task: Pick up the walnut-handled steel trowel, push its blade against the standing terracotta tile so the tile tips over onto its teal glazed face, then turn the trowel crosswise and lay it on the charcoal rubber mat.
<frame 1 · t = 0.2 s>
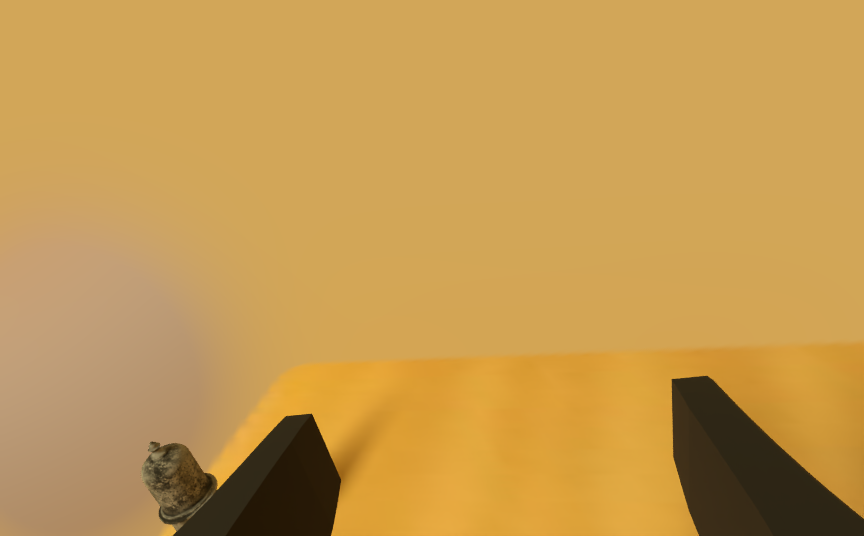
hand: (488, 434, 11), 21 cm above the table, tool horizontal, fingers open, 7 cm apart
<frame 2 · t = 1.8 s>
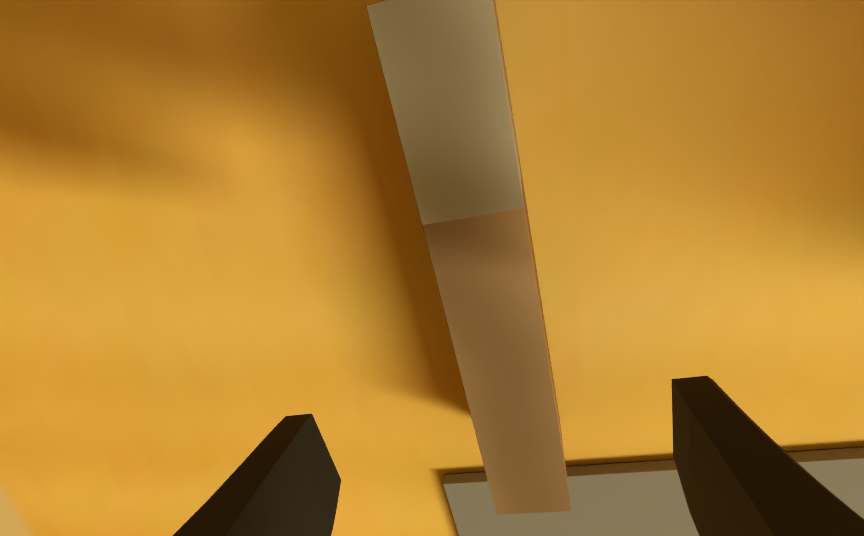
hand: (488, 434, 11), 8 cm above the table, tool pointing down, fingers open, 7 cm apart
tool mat: (713, 529, 23), on the table
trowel: (494, 249, 18), on the table
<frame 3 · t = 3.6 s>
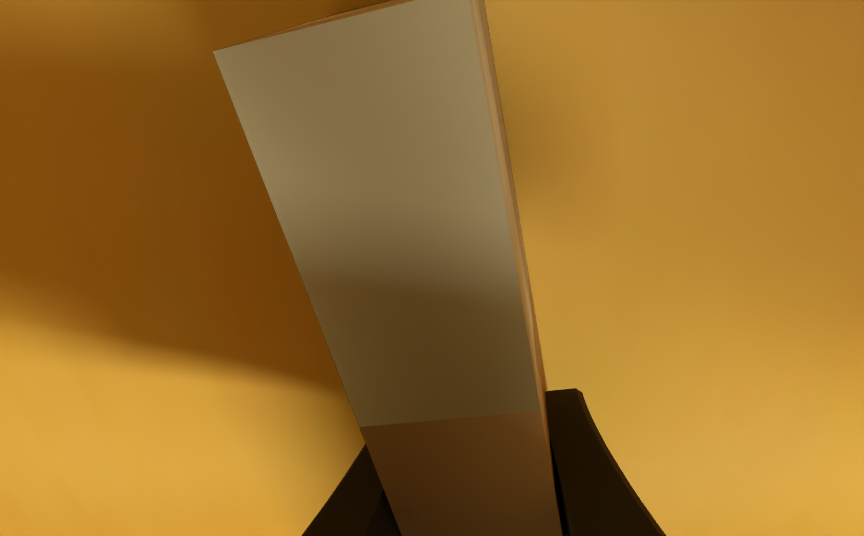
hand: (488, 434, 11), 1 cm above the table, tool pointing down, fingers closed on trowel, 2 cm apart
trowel: (489, 386, 12), on the table, touching gripper
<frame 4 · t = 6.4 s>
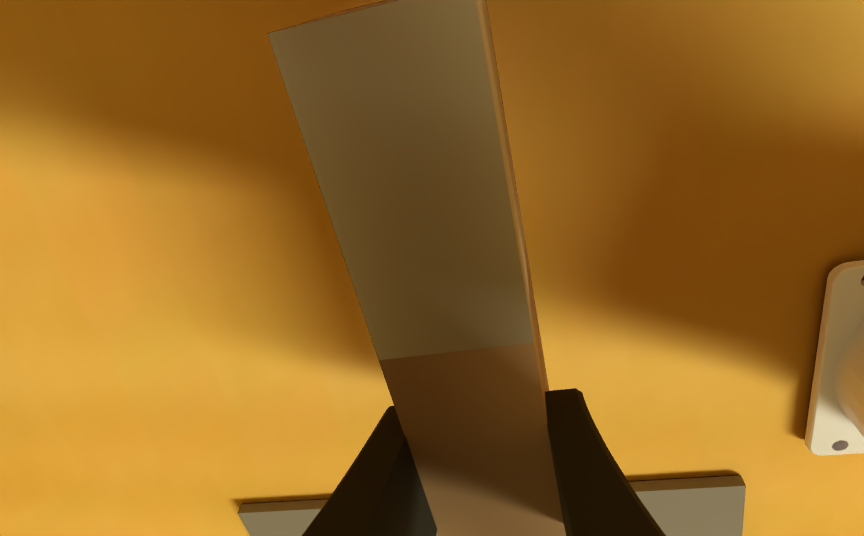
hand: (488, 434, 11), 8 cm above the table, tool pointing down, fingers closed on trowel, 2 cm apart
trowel: (490, 346, 13), point 5 cm above the table, touching gripper
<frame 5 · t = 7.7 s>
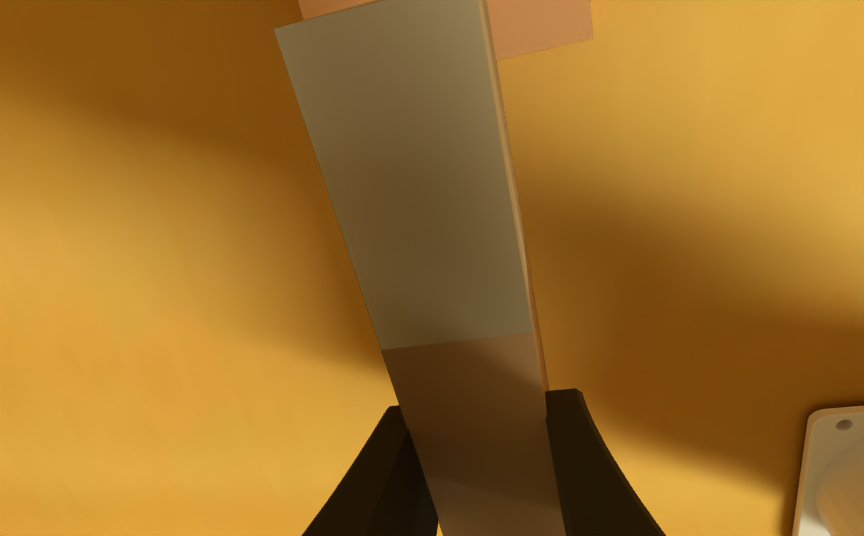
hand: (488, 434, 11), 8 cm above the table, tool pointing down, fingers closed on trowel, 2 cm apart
tile: (455, 65, 15), on the table, tilted 90°
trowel: (489, 339, 14), point 5 cm above the table, touching gripper
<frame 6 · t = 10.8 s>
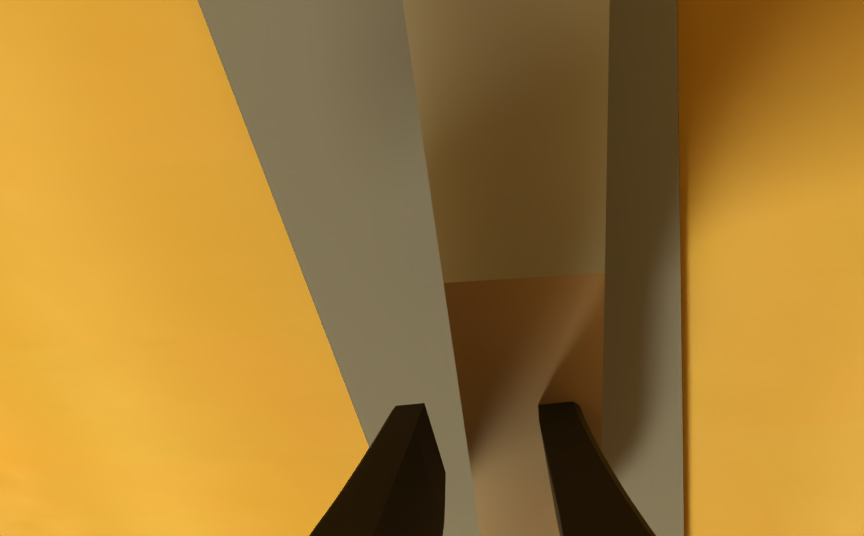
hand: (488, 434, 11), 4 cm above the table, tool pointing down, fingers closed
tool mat: (495, 322, 14), on the table
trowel: (523, 301, 13), resting on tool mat, touching gripper
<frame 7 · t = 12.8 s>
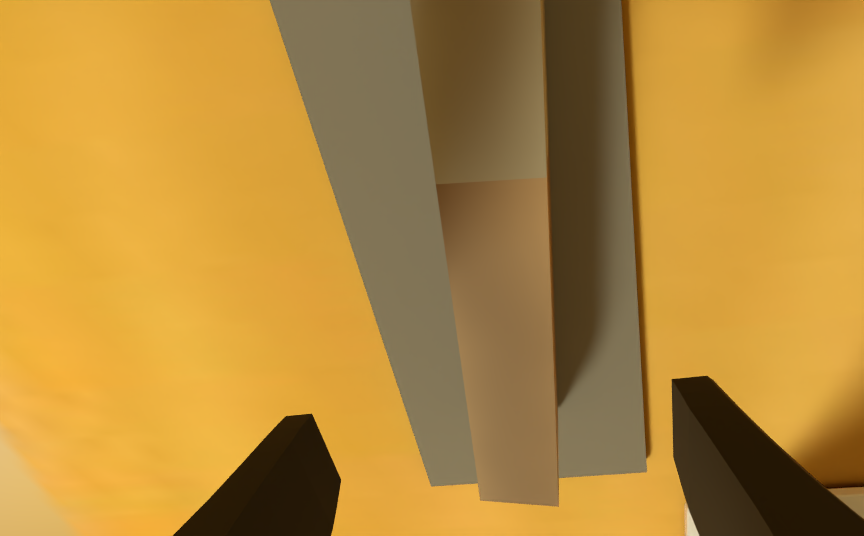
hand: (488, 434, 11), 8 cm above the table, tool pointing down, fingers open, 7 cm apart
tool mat: (490, 244, 18), on the table
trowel: (510, 225, 17), point 1 cm above the table, tilted 5°, touching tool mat
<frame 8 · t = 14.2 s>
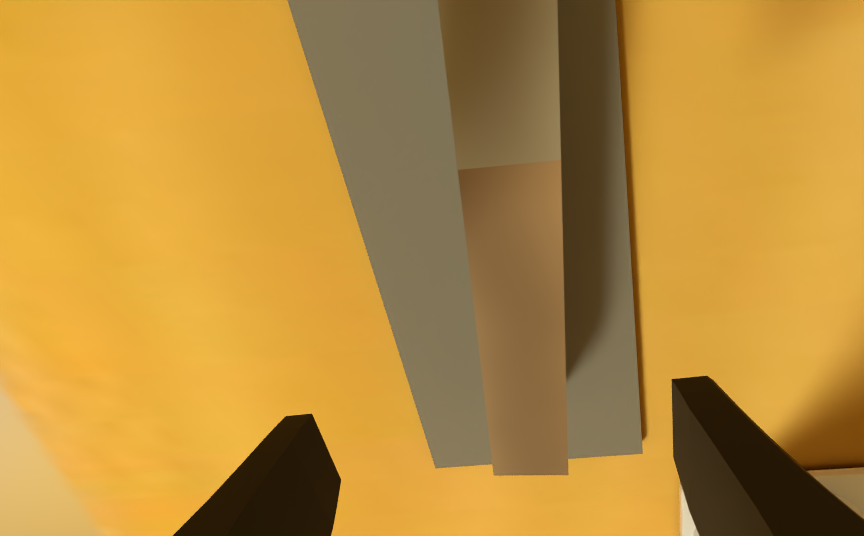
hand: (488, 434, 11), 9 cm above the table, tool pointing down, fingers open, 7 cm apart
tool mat: (492, 232, 19), on the table
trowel: (512, 212, 18), resting on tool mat
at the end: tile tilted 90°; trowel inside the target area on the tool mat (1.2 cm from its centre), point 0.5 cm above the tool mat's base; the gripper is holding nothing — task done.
